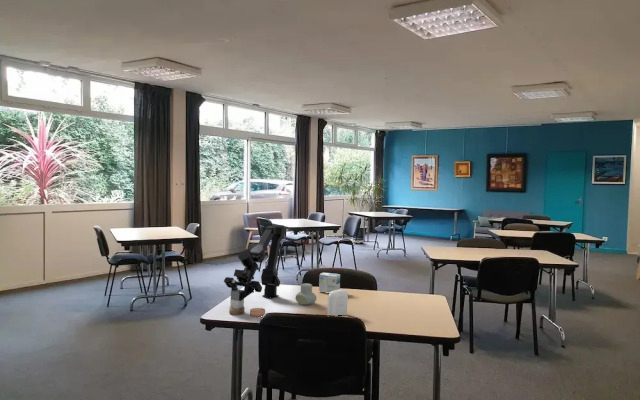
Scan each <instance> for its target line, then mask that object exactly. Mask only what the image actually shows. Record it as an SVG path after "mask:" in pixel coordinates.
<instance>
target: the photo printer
mask: <svg viewBox="0 0 640 400" xmlns="http://www.w3.org/2000/svg"><path fill="white" fill-rule="evenodd" d="M348 298H349V293H348V291H347V290H345V289H341V288H340V289H339V290H334V291H331V292H330V293H329V294H327V310H326V314H329V315H342V316H345V315H344V314H347V315H348V303H349V301H348V300H349V299H348Z"/></svg>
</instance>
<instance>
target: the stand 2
mask: <svg viewBox="0 0 640 400" xmlns="http://www.w3.org/2000/svg"><path fill="white" fill-rule="evenodd" d="M264 314H265V315H266V309H265V308H263V307H253V308H250V309H249V316H250V317H251V318H255V317H256V319H257V318H258V317H260V318H262V317H261V316H263V315H264ZM258 319H259V318H258Z"/></svg>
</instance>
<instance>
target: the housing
mask: <svg viewBox="0 0 640 400" xmlns="http://www.w3.org/2000/svg"><path fill="white" fill-rule="evenodd" d="M243 291H244V289H239V288H238V289H235V290H233V291H230V305H229V309H230V308H232V309H238V310H239V309H241V308H243V307H245V298H244V299H243V300H242V301H240V297H241V295H242V293H243Z"/></svg>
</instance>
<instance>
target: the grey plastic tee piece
mask: <svg viewBox="0 0 640 400" xmlns="http://www.w3.org/2000/svg"><path fill="white" fill-rule="evenodd" d="M295 301H296V303H298V304H299V305H301V306H309V305H313V304H314V303H316V301H317V295H316V294H315V293H314V292H313V284H311V283H301V285H300V292H298V293H297V294H296V295H295Z"/></svg>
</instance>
